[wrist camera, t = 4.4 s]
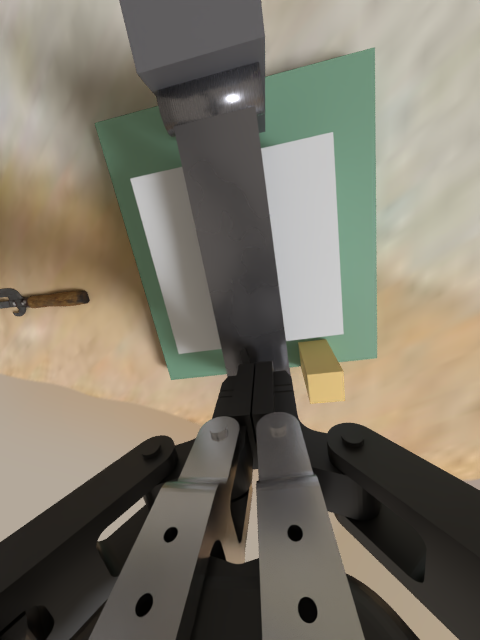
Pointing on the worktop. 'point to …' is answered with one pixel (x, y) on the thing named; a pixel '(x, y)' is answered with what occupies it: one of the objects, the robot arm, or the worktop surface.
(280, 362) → the strap
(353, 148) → the cpu board
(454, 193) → the worktop surface
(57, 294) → the can opener
